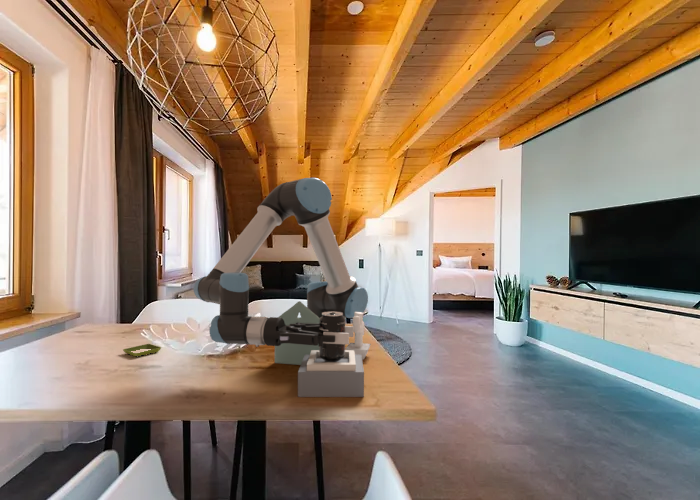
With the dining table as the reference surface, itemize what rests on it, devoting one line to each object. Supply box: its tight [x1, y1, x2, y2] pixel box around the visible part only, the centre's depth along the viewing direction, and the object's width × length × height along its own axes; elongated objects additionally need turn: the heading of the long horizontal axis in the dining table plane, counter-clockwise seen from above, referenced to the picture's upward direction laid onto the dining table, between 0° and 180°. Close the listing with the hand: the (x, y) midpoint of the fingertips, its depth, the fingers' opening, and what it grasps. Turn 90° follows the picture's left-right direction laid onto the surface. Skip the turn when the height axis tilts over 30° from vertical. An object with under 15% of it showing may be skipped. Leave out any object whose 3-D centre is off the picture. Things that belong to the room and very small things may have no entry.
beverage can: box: [319, 311, 346, 362], centre depth 89 cm, size 7×7×12 cm
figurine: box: [345, 312, 371, 360], centre depth 113 cm, size 7×9×15 cm
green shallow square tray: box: [122, 343, 162, 357], centre depth 116 cm, size 9×9×2 cm
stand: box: [297, 349, 365, 398], centre depth 89 cm, size 14×16×8 cm
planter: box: [274, 301, 320, 366], centre depth 109 cm, size 16×8×20 cm, turn 78°
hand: (350, 335), depth 88 cm, fingers closed on beverage can, 7 cm apart
